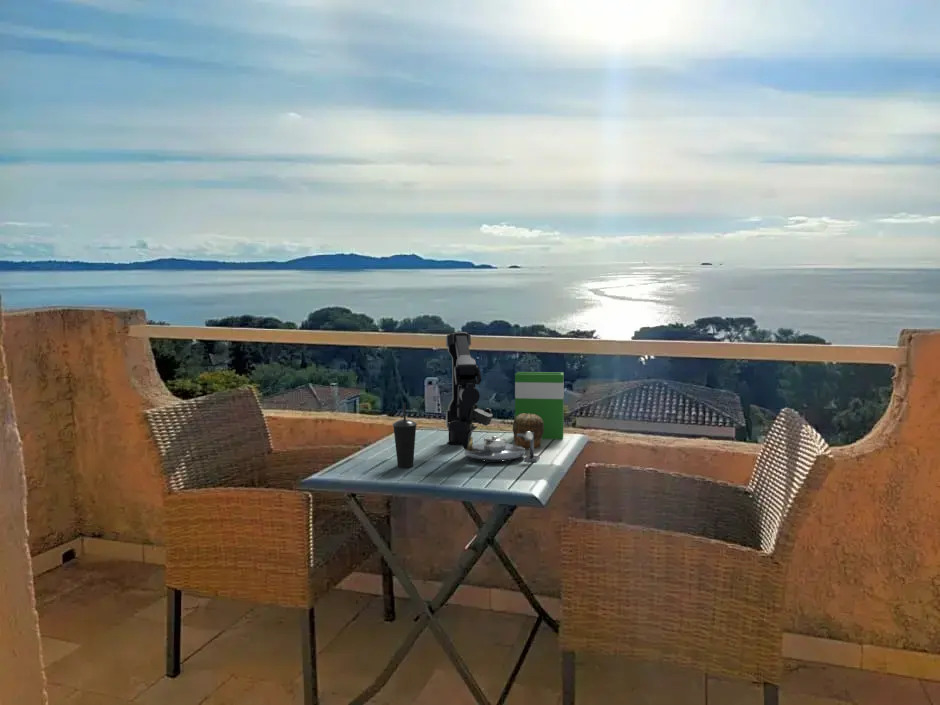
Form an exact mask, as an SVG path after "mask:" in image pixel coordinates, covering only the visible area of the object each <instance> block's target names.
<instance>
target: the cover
mask: <svg viewBox="0 0 940 705" xmlns="http://www.w3.org/2000/svg"><path fill="white" fill-rule="evenodd" d="M483 444H484V450H485V451H488V452H501V451H505V444H506V438H504V437H499V436H497V435H493V436H491V437H485V438H483Z"/></svg>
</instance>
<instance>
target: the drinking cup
mask: <svg viewBox="0 0 940 705" xmlns="http://www.w3.org/2000/svg"><path fill="white" fill-rule="evenodd" d="M402 406H403V407H402V408H403V410H402V411H403V419H399V420H397V421H395V422H393V423H392V427H393V434H394V444H395V453H396V460H397V462H396V464H397V468H399V469H410V468H413V467H414V459H415V448H416V447H415V444H416V430H417V425H418V423H417V422H415V421H413V420H410V419H407V418H406V417H407V416H406V415H407V413H406V412H407V410H406V407H407V406H406V403H403V405H402Z"/></svg>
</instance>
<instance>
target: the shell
mask: <svg viewBox="0 0 940 705" xmlns="http://www.w3.org/2000/svg"><path fill="white" fill-rule="evenodd" d="M527 431H530V432H533V433H534V448H535V449H538V448H541V443H542V439H541V438H542V435H543V432H544V423H543V420H542V419H541V417H539V416H538V415H535V414H529V413H528V414H525V413H522V414H520V415H518V416H517V417H516V418H515V417H514V420H513V424H512V433H513V440H514V441H513V442H514V445H517V446H521V447H523V448H525V450H530V441H526V440H525V439H524V437H519V436H517V434H524V433H525V432H527Z"/></svg>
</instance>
